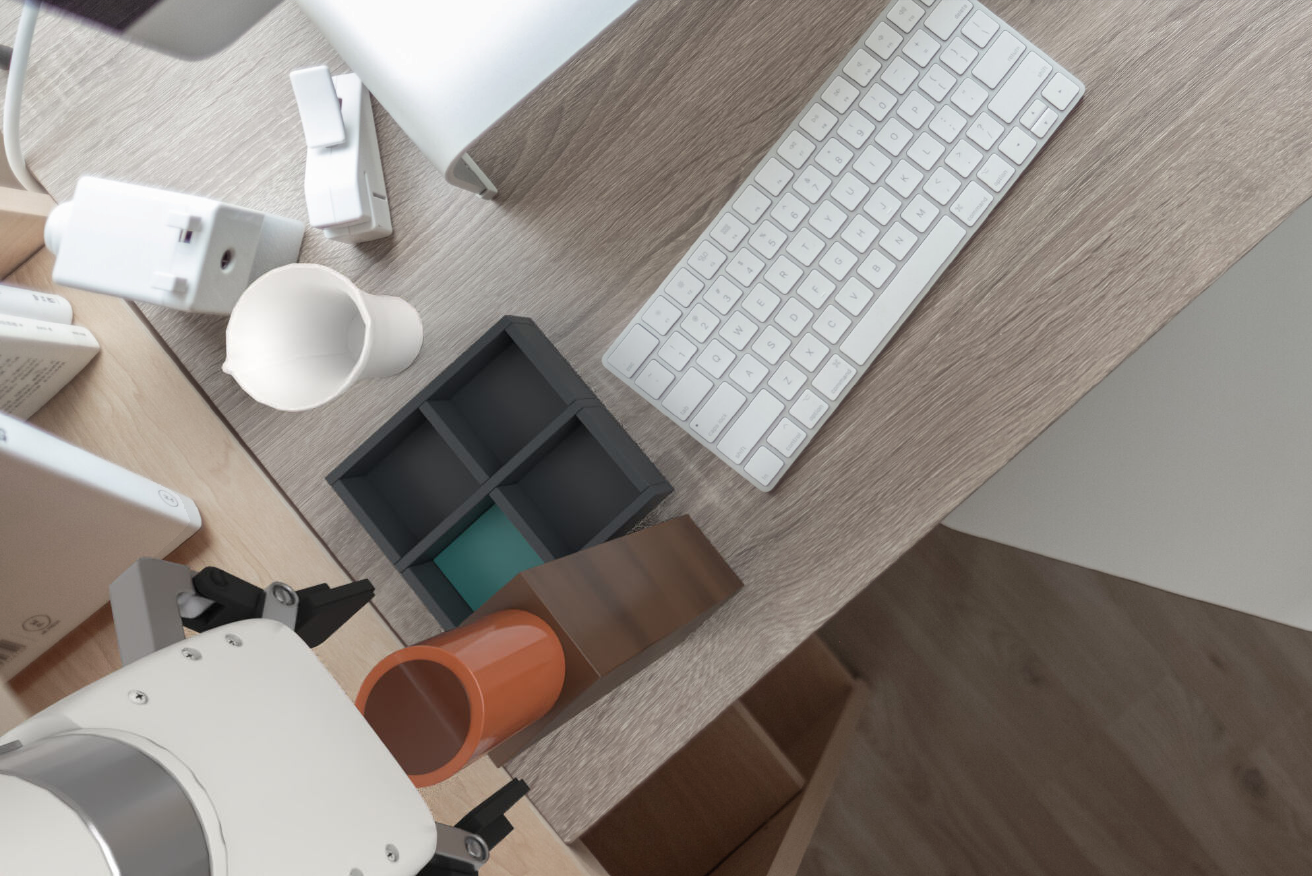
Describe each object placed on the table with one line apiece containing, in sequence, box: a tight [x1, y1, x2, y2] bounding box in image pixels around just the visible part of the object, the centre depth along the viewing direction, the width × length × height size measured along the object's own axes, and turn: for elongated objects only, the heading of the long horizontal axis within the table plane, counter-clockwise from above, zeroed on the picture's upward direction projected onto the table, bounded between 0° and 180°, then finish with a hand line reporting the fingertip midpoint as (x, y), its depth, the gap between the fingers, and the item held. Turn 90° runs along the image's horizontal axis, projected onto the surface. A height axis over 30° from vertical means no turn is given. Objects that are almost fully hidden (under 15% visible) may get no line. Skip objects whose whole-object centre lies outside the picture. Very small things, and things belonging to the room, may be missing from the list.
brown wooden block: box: [459, 513, 745, 769], centre depth 64 cm, size 6×6×24 cm
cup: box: [221, 262, 424, 413], centre depth 74 cm, size 9×9×10 cm
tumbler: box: [353, 609, 565, 789], centre depth 48 cm, size 5×5×8 cm
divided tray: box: [324, 314, 675, 632], centre depth 76 cm, size 15×15×4 cm
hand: (419, 708), depth 45 cm, fingers open, 9 cm apart
